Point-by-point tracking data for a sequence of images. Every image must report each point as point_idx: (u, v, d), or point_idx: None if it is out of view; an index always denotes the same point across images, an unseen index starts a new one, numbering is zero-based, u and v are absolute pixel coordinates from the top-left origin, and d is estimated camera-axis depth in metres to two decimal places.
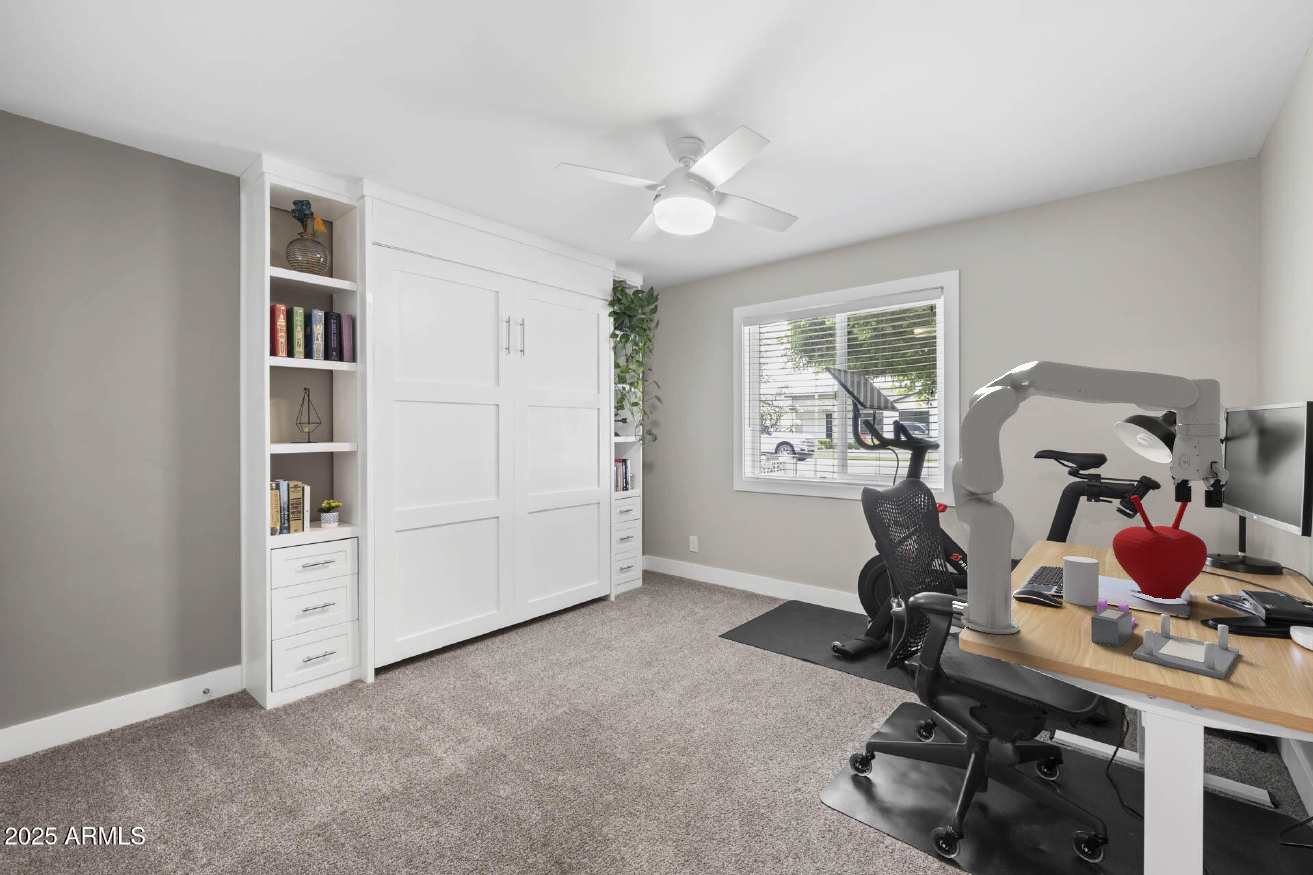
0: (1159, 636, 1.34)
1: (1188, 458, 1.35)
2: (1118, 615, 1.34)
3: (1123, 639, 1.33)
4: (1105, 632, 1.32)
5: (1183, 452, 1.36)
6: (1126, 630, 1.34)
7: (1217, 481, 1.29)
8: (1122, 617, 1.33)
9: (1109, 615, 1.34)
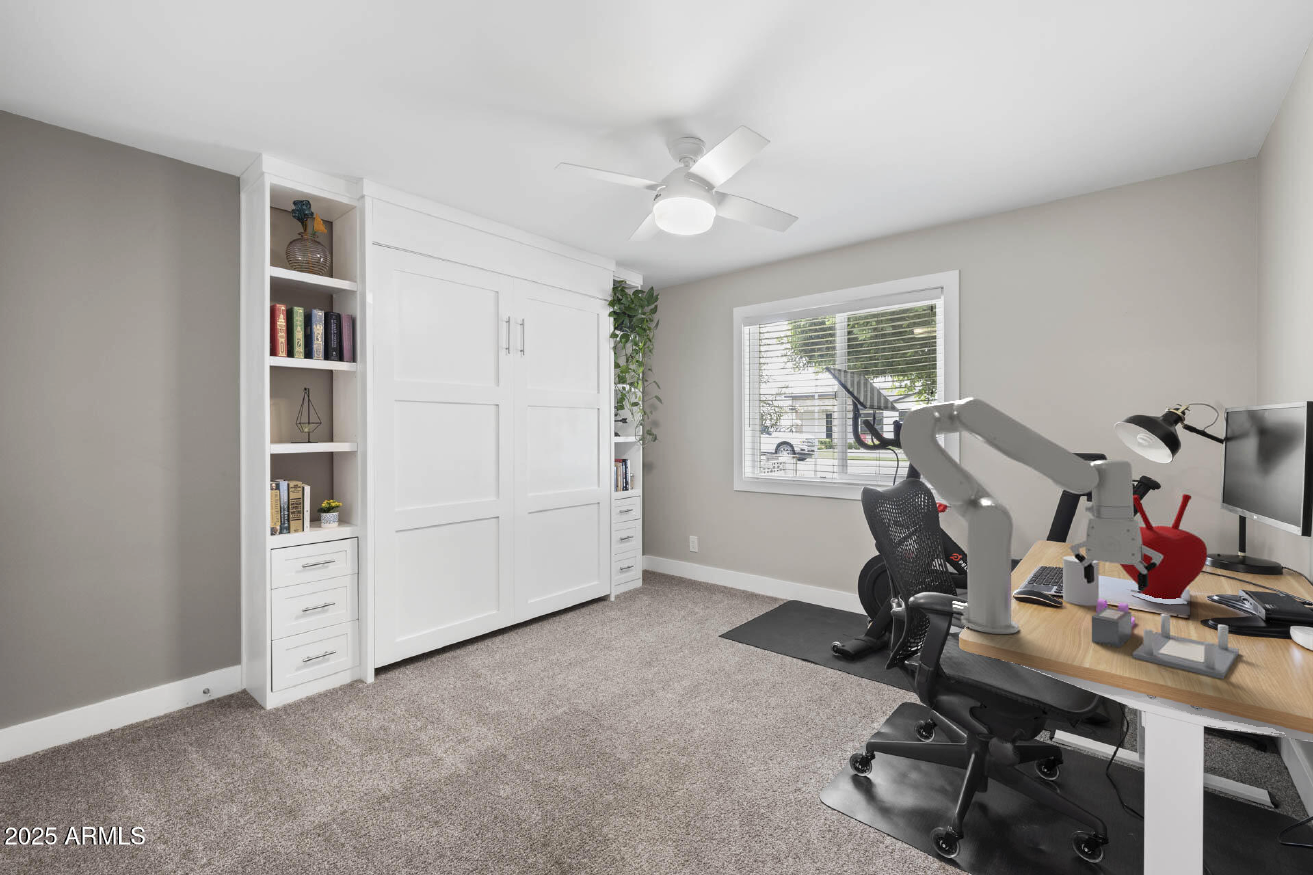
0: (1159, 636, 1.34)
1: (1117, 541, 1.32)
2: (1118, 615, 1.34)
3: (1123, 639, 1.33)
4: (1105, 633, 1.32)
5: (1109, 535, 1.33)
6: (1126, 630, 1.34)
7: (1154, 565, 1.29)
8: (1122, 617, 1.33)
9: (1109, 615, 1.34)
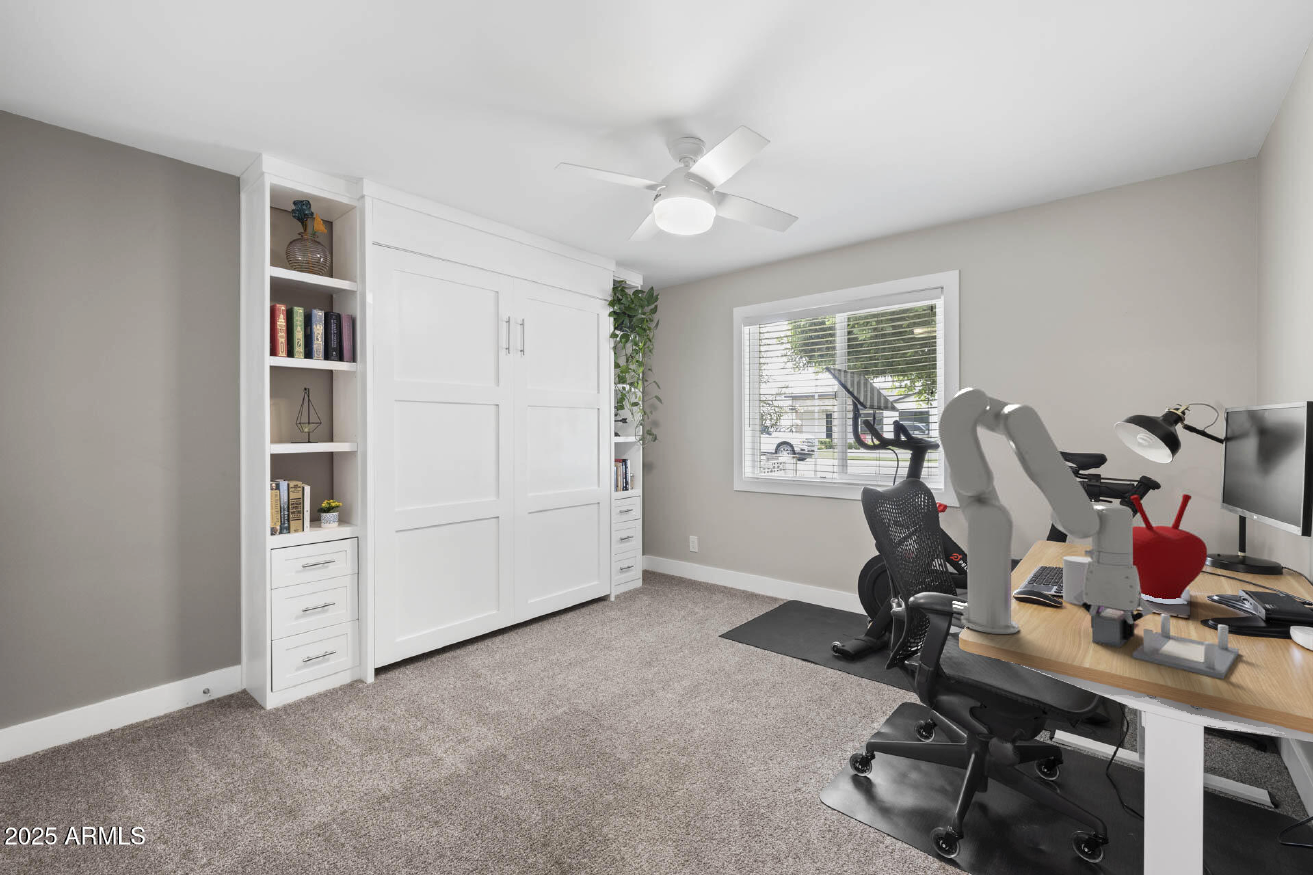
0: (1159, 636, 1.34)
1: (1116, 587, 1.32)
2: (1118, 614, 1.34)
3: None
4: (1106, 632, 1.32)
5: (1107, 580, 1.34)
6: None
7: (1140, 615, 1.31)
8: (1123, 616, 1.33)
9: (1110, 614, 1.34)
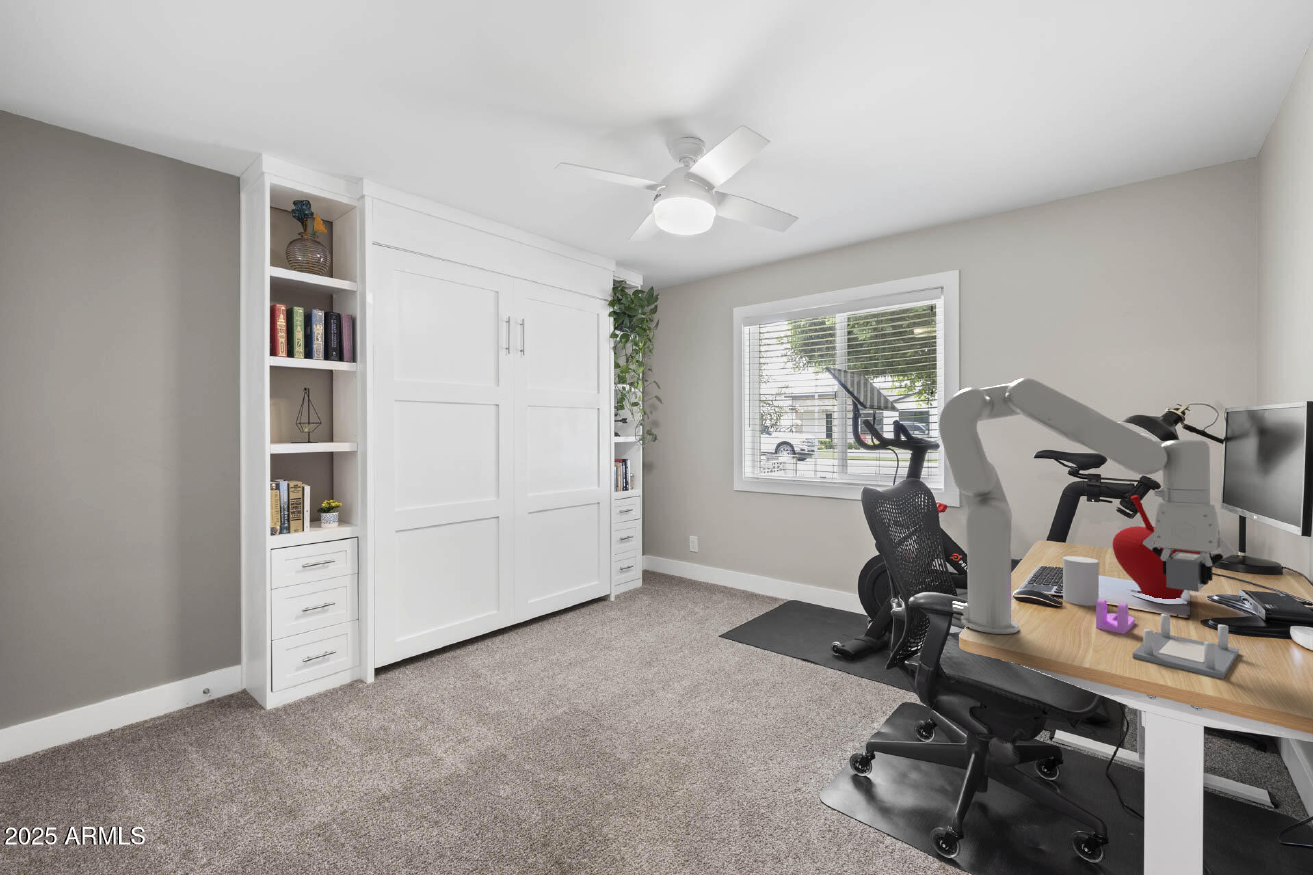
0: (1159, 636, 1.34)
1: (1192, 527, 1.22)
2: (1195, 557, 1.24)
3: (1201, 583, 1.22)
4: (1183, 575, 1.21)
5: (1182, 520, 1.23)
6: None
7: (1220, 557, 1.20)
8: (1200, 559, 1.23)
9: (1185, 557, 1.24)
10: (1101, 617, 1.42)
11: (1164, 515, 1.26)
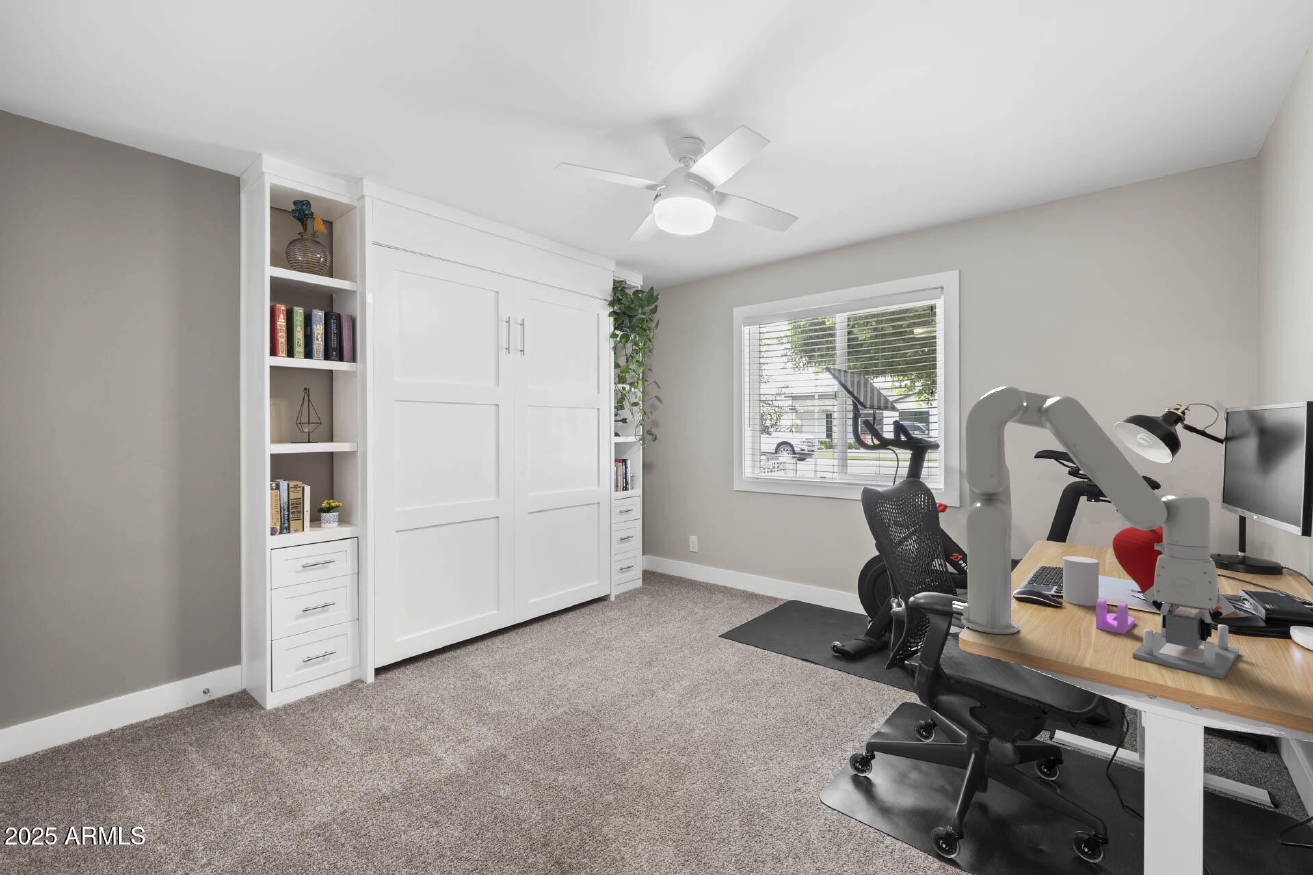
0: (1159, 636, 1.34)
1: (1192, 584, 1.22)
2: (1194, 613, 1.24)
3: None
4: (1182, 632, 1.22)
5: (1182, 576, 1.24)
6: None
7: (1220, 614, 1.20)
8: (1199, 615, 1.23)
9: (1184, 613, 1.24)
10: (1101, 617, 1.42)
11: (1164, 570, 1.26)
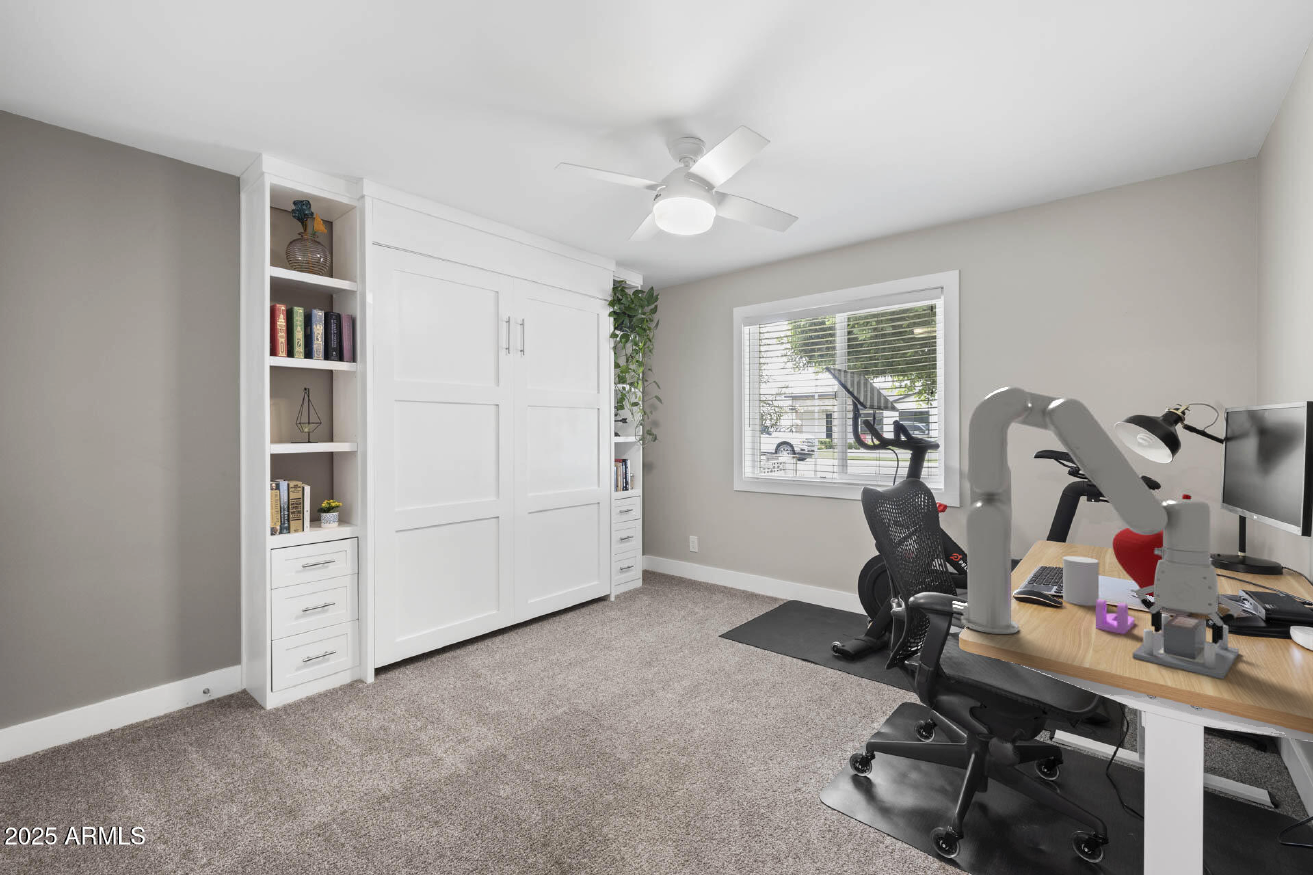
0: (1159, 636, 1.34)
1: (1192, 589, 1.22)
2: (1192, 623, 1.24)
3: (1199, 649, 1.23)
4: (1179, 642, 1.22)
5: (1182, 581, 1.24)
6: (1201, 639, 1.24)
7: (1232, 617, 1.19)
8: (1197, 625, 1.23)
9: (1183, 623, 1.24)
10: (1101, 617, 1.42)
11: (1164, 574, 1.26)
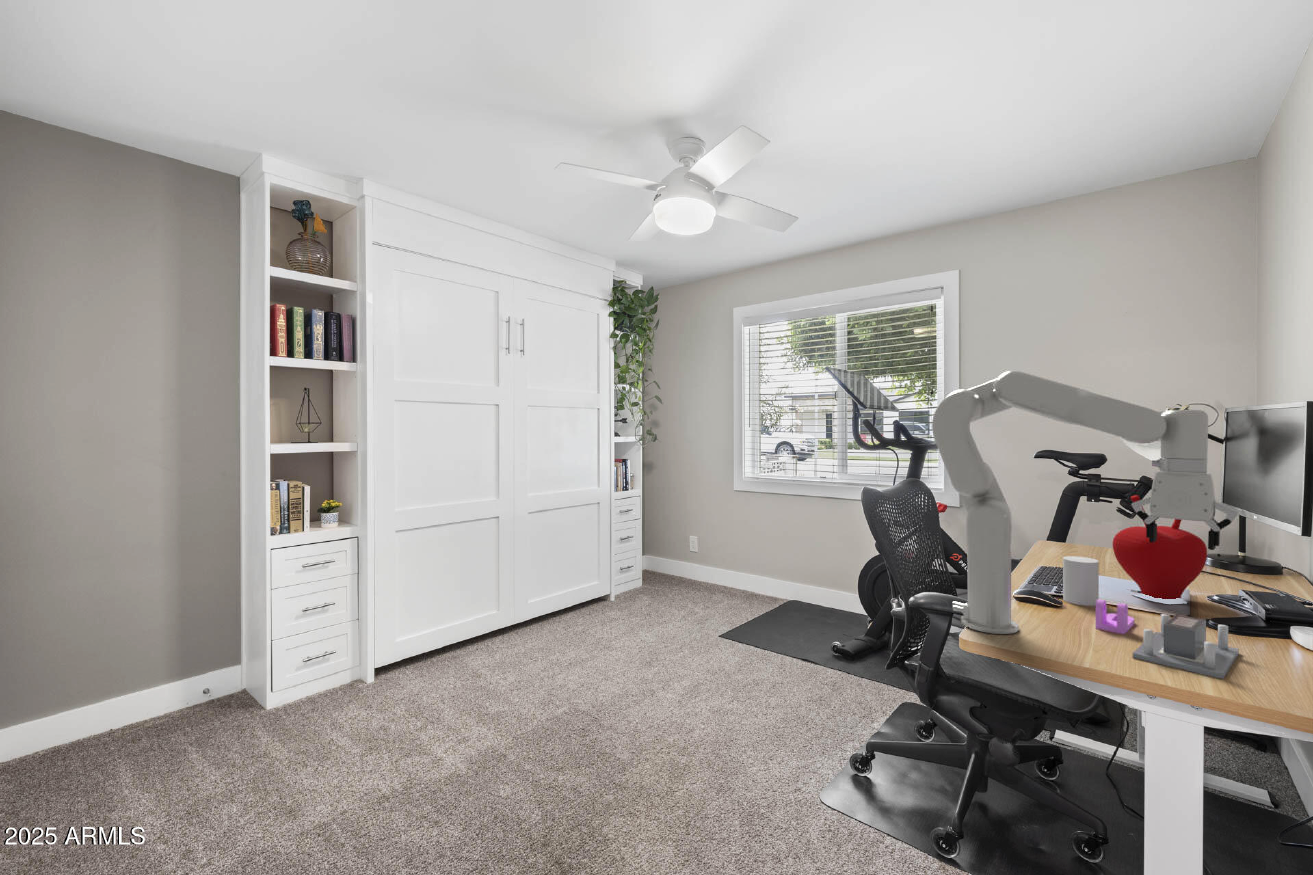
0: (1159, 636, 1.34)
1: (1188, 496, 1.23)
2: (1192, 623, 1.24)
3: (1199, 649, 1.23)
4: (1179, 642, 1.22)
5: (1178, 489, 1.24)
6: (1201, 639, 1.24)
7: (1228, 522, 1.19)
8: (1197, 625, 1.23)
9: (1183, 623, 1.24)
10: (1100, 617, 1.42)
11: (1160, 484, 1.27)
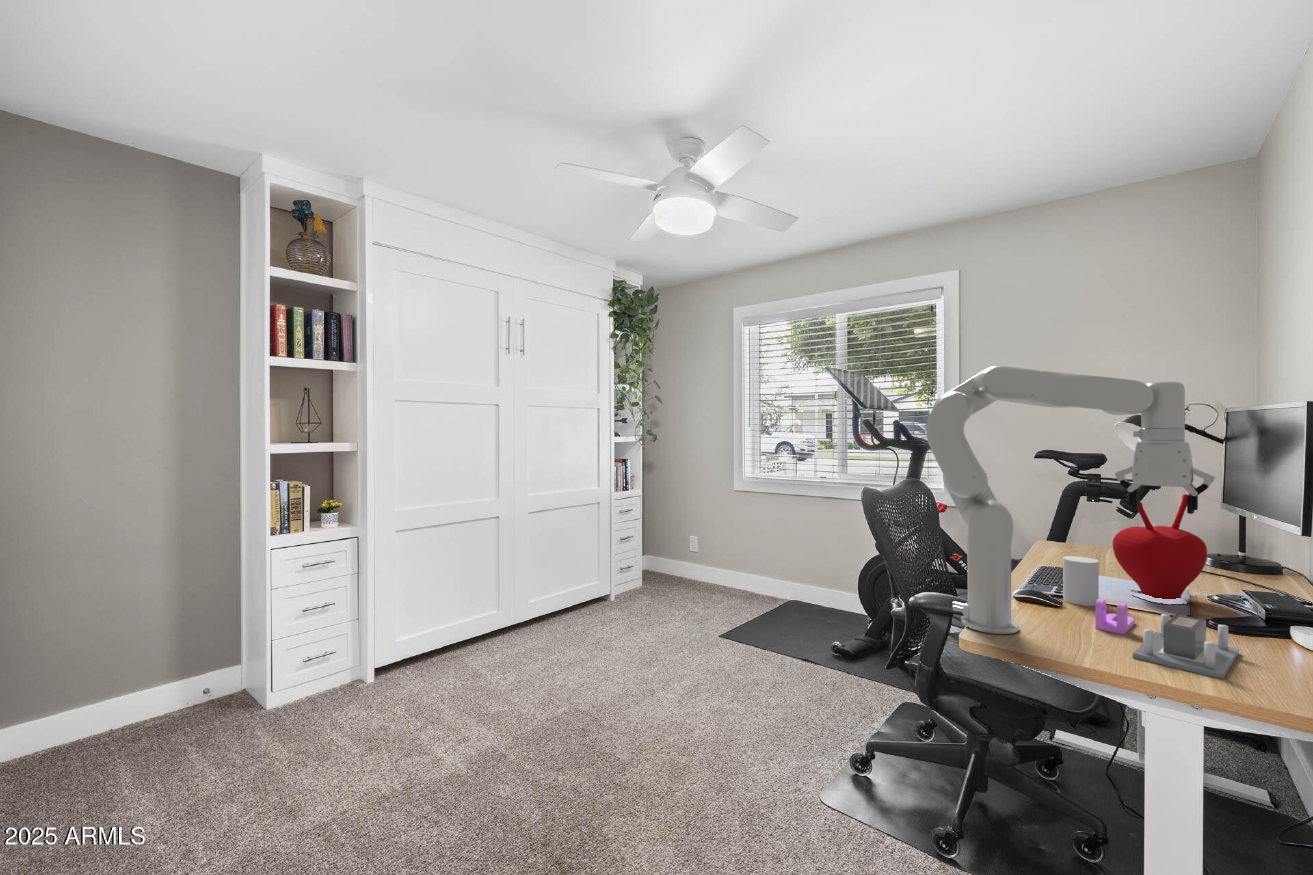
0: (1159, 636, 1.34)
1: (1167, 463, 1.30)
2: (1192, 623, 1.24)
3: (1199, 649, 1.23)
4: (1179, 642, 1.22)
5: (1158, 457, 1.31)
6: (1201, 639, 1.24)
7: (1205, 486, 1.26)
8: (1197, 625, 1.23)
9: (1183, 623, 1.24)
10: (1100, 617, 1.42)
11: (1142, 453, 1.33)
